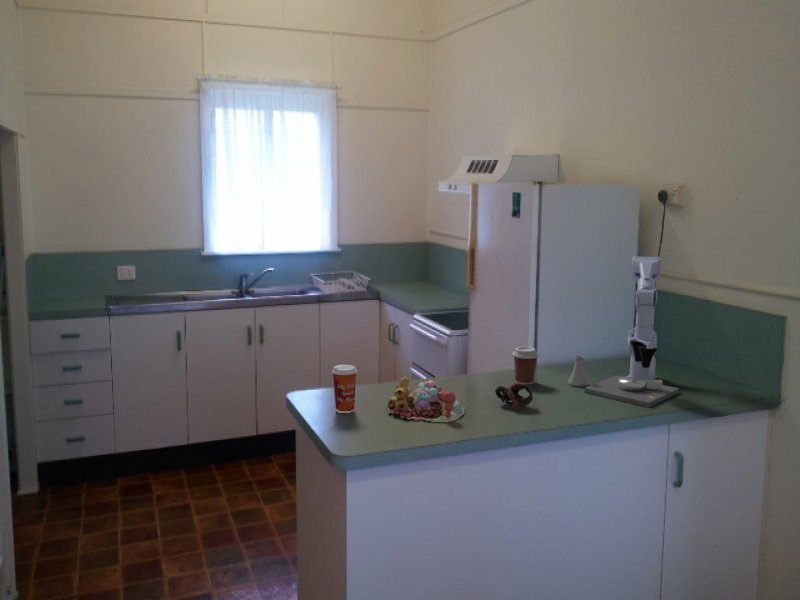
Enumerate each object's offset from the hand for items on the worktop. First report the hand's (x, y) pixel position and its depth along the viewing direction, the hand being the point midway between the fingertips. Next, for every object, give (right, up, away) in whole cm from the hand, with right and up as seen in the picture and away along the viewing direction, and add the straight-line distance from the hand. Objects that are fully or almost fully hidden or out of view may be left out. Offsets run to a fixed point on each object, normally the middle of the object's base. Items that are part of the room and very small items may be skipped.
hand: (642, 364), depth 255 cm
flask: (-19, -8, +10) cm, 23 cm away
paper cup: (-98, -13, -20) cm, 101 cm away
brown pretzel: (-45, -12, -14) cm, 49 cm away
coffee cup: (-37, -7, +13) cm, 40 cm away
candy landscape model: (-73, -13, -18) cm, 76 cm away
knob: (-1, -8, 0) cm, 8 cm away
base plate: (-3, -10, +1) cm, 10 cm away
